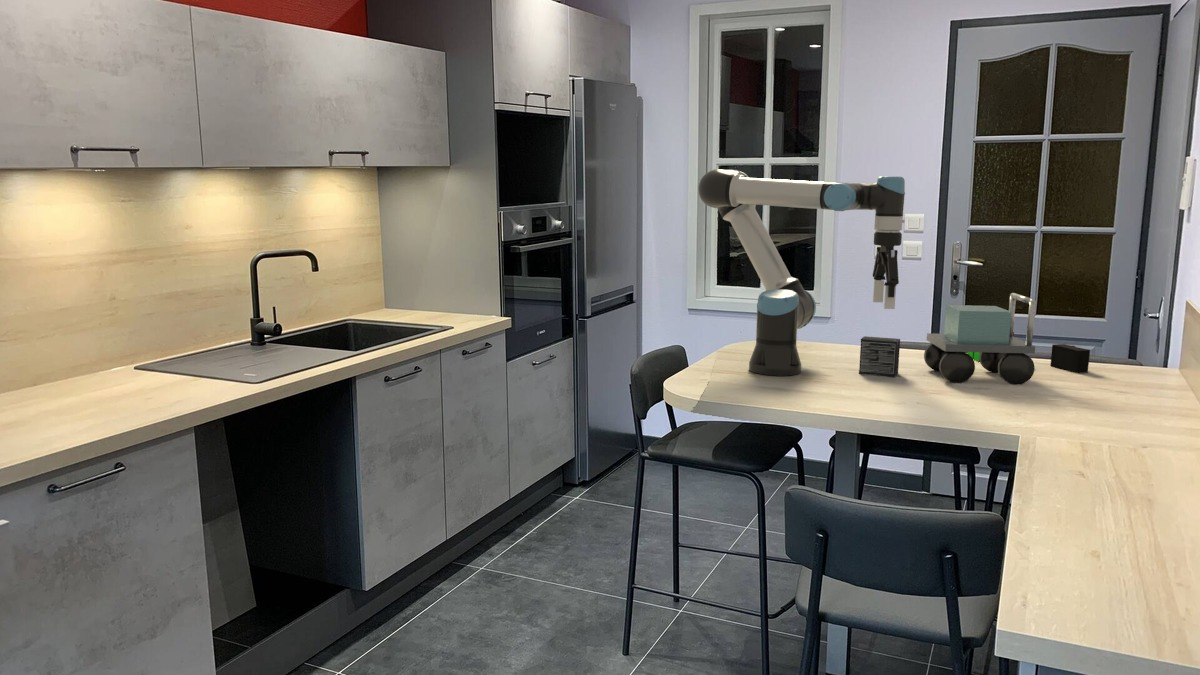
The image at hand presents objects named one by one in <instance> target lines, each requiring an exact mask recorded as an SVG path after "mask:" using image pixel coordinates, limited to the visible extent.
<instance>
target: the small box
mask: <svg viewBox="0 0 1200 675" xmlns="http://www.w3.org/2000/svg"><path fill="white" fill-rule="evenodd" d="M900 347H901V338H894V337H893V338H891V337H878V336H877V337H876V336H868V335H867V336H862V337H861V338H860V353H859V366H858V367H859V368H858V374H859V375H868V376H878V377H879V376H880V377H890V378H891V377H892V378H896V377H897V376H898V375H899V365H900V364H899V362H900Z"/></svg>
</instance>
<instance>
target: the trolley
mask: <svg viewBox="0 0 1200 675" xmlns="http://www.w3.org/2000/svg"><path fill="white" fill-rule="evenodd" d="M1017 301H1020V302H1022V303H1025V304H1028V305H1029V306H1028V315H1027V326H1026V336H1025V340H1022V339H1020V338H1018V337H1015V336H1014V337H1013V332H1014V322H1015V314H1016V313H1015V312H1016V302H1017ZM1036 304H1037V301H1036V299H1034V298H1031V297H1028V296H1024V295H1022V294H1018V293H1015V292H1012V293H1010V294H1009V305H1008V310H1007V309H1005V308H1002V307H999V306H997V305H969V304H968V305H965V304H964V305H962V304H961V305H960V304H959V305H958V304H955V305H954V304H946V306H945V317H944V318H945V319H944V331H943V333H927V334H926V341H928V342H929V344H928V346H927V347H926V348H925V350H924V353H923V359H924V362H925V364H926V366H928V367H929V369H932V370H933V371H935V372H938V373H939V372H940V374H941V376H942V377H943V378H945V380H947V381H948V382H949V383H953V384H962V383H966V382H967V381H968V380H970V379H971V378H972V377H973V375H974V373H975V371H976V363H975V360H973V358H972V357H971V356H970V355H969V354H967V353H968V352H980V355H979V360H980V363H979V364H980V365H981V367H982V368H983V369H985V370H987V371H988V372H989V373H992V374H998V376H1000V378H1001V379H1002V380H1003V381H1005V382H1007V383H1008V384H1011V385H1013V386H1014V385H1016V386H1019V385H1023V384H1025V383H1028V382H1029V380H1031V378H1032V377H1033V376H1034V373H1035V369H1036V368H1035V367H1036V366H1035V362H1034V360H1033V359H1032V358H1031V357H1030V356H1029V355H1028V354H1035V353H1036V346H1035V345H1033V339H1034V338H1033V336H1034V328H1035V316H1036Z"/></svg>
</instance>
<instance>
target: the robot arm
mask: <svg viewBox="0 0 1200 675" xmlns="http://www.w3.org/2000/svg"><path fill="white" fill-rule="evenodd" d="M905 181H906V180H905V178H904V177H902V176H894V175H893V176H892V175H890V176H886V175H885V176H883V175H882V176H881V175H880V176H878V177H877V181H876V182H875V183H874V182H873V183H872V182H871V183H865V182H862V183H861V182H830V181H829V182H826V181H813V180H810V181H809V180H794V179H791V180H790V179H778V178H777V179H775V178H773V179H772V178H757V177H749V176H748V175H747V174H746V173H745V172H742V171H740V170H738V169H731V168H730V169H713V170H710V171H707V172H706V173H705V174H704V175H703V176H702V177H701V178H700V180H699V184H698V189H697V191H698V195H699V198H700V200H701V201H702V202H703V203H704V205H706V206H708V207H710V208H714V209H717V210H718V212H719V214H720V216H721V218H722V220H724V221H726V222H729V223H730V224H731V226H732V228H733V230H734V231H735V234H736V236H737V237H738V239H739V241H740V243H741V245H742V248H743V249H744V251H745V253H746V254H747V257H748V258H749V261H750V262H751V264H752V266H753V268H754V270H755V271H756V273H757V276H758V278H759V279H760V281H761V283H762V285H763V287H764V289H765V291H763V292H761V293H760V294H759V295H758V298H757V303H756V309H757V310H756V329H755V330H756V333H755V346H754V349H753V351H752V353H751V357H750V358H749V362H748V363H749V364H748V370H749V371H750V372H752V373H754V374H759V375H765V376H778V377H779V376H780V377H781V376H783V377H784V376H794V375H798V374H800V373H802V361H801V359H800V354H799V351H798V348H797V347H798V346H797V338H798V336H797V334H798V329H802V328H804V327H806V326H807V325H808V324H809V323H811V321H812V320H813V319H814V317H815V315H816V310H817V304H816V300H815V298H814V296H813V295H812V293H810V292H809V291H807V290H805V289H804V287H803V285H802V283H801V281H800V280H799V278H796V277H793V276H791V274H790V272H789V270H788V268H787V266H786V264H785V262H784V261H783V259H782V256H781V255H780V253H779V251H778V249H777V247H776V245H775V244H774V242H773V239H772V238H771V236H770V234H769V232H768V230H767V228H766V227H765V224H764V222H763V220H762V219H761V217H760V215H759V213H758V211H757V209H756V206H758V205H759V206H769V207H771V206H773V207H789V208H799V209H801V208H802V209H814V210H815V209H819V210H829V211H835V212H845V211H854V210H855V211H856V210H857V211H858V210H861V211H862V210H864V211H866V210H867V211H868V210H870V211H875V212H874V213H875V216H874V226H873V229H874V230H875V232H874V233H873V245H875V246H876V254H875V260H874V266H873V270H872V271H873V272H872V277H873V280H874V281H873V295H872V296H873V297H872V302H873V303H883V309H884V310H895V308H896V291H897V286H898V285H899V283H900V281H899V268H898V267H899V264H898V252H899V251H898V249H894V248H895V247H896V246H897V247H898V246H901V245H902V239H903V238H902V235H903V234H902V232H900V231H902V230H903V224H904V223H905V219H904V218H903V217H904V208H905V206H904V205H905V194H906V190H905V188H906V187H905V186H906V184H905ZM884 289H885V290H884Z"/></svg>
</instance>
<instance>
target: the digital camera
mask: <svg viewBox="0 0 1200 675" xmlns="http://www.w3.org/2000/svg"><path fill="white" fill-rule="evenodd" d="M1090 355H1091V350H1090V349H1087V348H1082V347H1078V346H1075V345H1070V344H1065V343H1060V344H1058V343H1057V344H1052V347H1051V356H1050V366H1051V367H1050V366H1049V367H1050V368H1054V367H1055V369H1059V370H1062V371H1066V372H1070V373H1073V374H1088V373H1089V364H1090V363H1089V362H1090Z"/></svg>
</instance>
